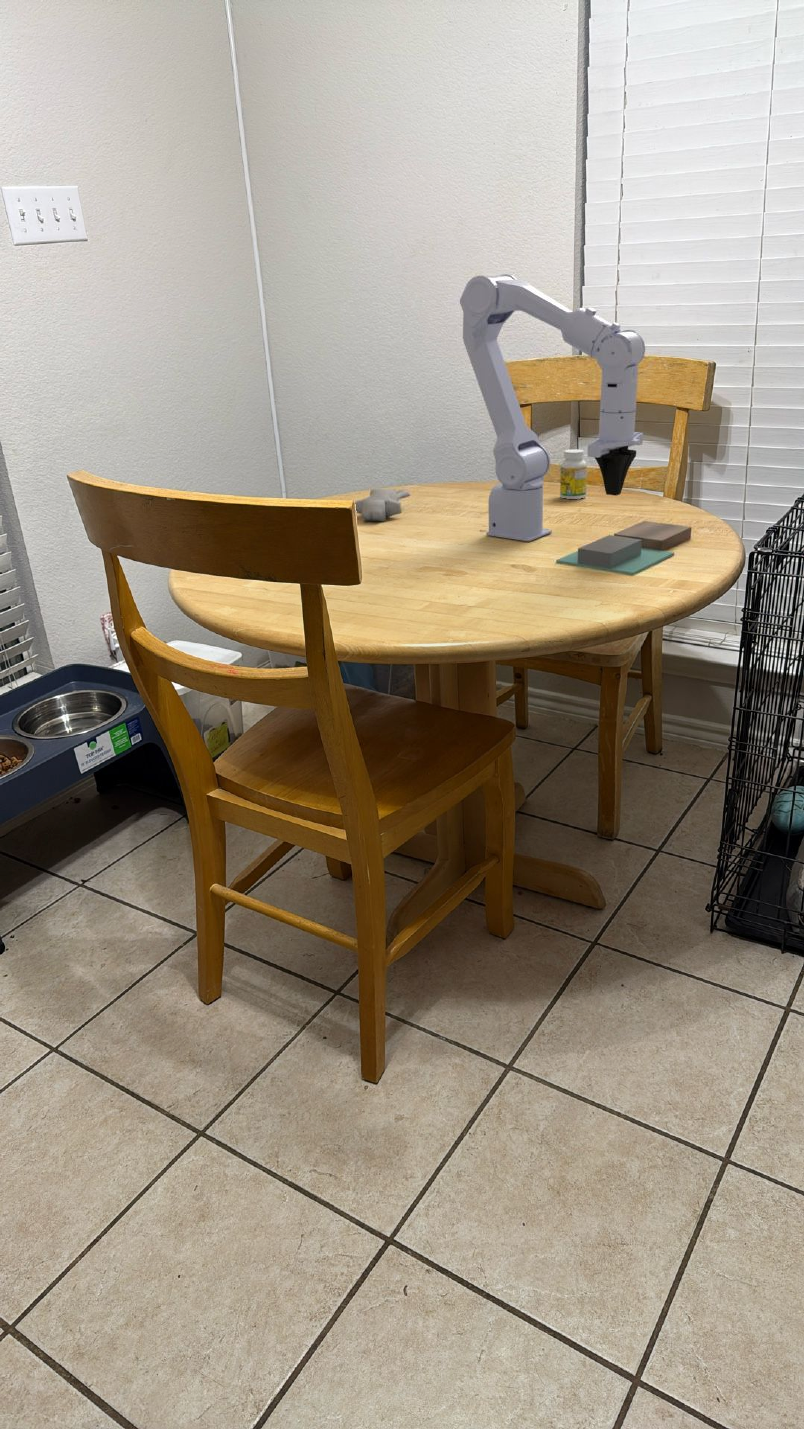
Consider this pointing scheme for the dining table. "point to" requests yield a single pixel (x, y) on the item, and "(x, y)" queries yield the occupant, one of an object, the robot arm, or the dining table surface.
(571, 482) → the supplement bottle
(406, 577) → the dining table surface
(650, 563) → the teal mat
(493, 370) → the robot arm
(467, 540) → the dining table surface
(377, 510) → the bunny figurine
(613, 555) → the slate tile
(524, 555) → the dining table surface
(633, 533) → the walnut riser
